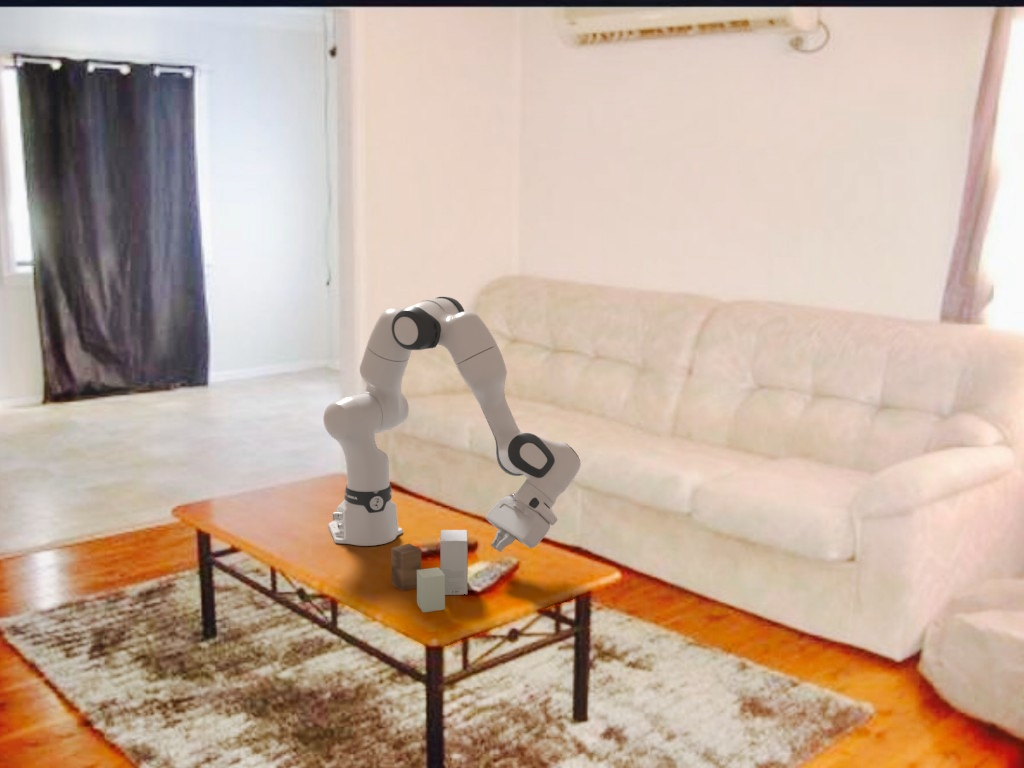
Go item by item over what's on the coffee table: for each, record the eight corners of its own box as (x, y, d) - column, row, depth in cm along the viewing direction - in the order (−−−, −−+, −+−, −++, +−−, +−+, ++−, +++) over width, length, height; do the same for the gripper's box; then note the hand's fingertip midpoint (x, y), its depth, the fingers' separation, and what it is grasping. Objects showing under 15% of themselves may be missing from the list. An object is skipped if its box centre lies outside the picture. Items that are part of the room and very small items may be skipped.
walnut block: (391, 584, 242) (391, 547, 241) (409, 579, 246) (409, 543, 244) (403, 591, 239) (402, 553, 237) (421, 586, 242) (421, 549, 240)
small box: (467, 595, 236) (467, 540, 234) (440, 595, 236) (439, 541, 234) (467, 581, 244) (467, 529, 242) (440, 582, 244) (440, 529, 242)
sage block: (417, 603, 231) (416, 569, 230) (438, 600, 233) (438, 567, 232) (423, 612, 227) (422, 577, 225) (444, 609, 229) (444, 575, 227)
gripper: (502, 484, 254) (467, 528, 251) (544, 506, 236) (507, 554, 234) (518, 499, 257) (483, 543, 254) (561, 522, 239) (524, 569, 236)
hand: (495, 548), depth 244 cm, fingers closed
